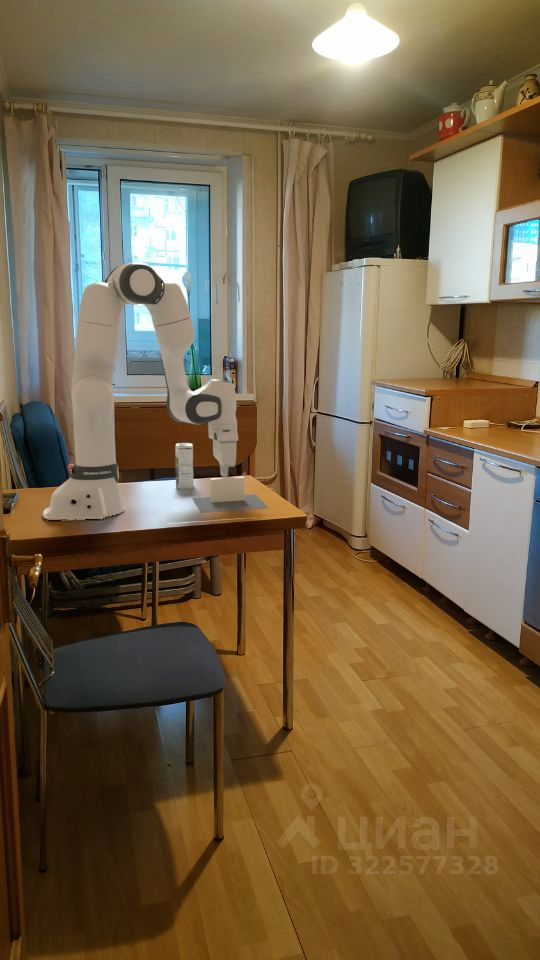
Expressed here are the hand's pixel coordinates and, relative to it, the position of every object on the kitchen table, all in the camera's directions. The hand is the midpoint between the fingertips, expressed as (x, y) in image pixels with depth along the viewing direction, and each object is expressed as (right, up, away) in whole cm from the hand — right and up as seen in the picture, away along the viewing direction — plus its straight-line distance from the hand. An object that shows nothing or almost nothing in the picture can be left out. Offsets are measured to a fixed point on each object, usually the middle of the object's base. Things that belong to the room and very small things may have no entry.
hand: (224, 476), depth 213 cm
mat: (+2, -9, -8) cm, 12 cm away
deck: (+1, -8, -5) cm, 9 cm away
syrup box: (-14, -4, +15) cm, 21 cm away
